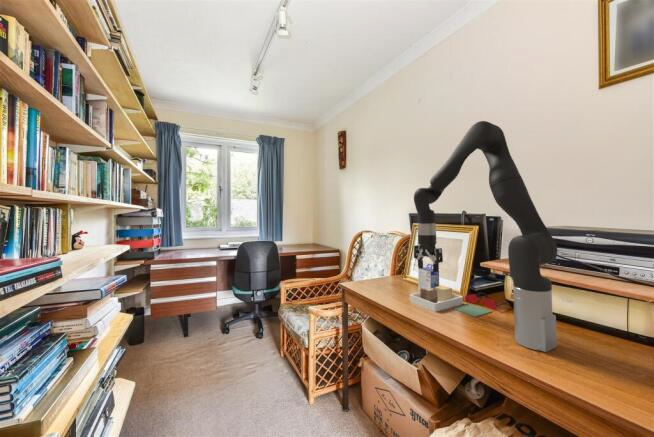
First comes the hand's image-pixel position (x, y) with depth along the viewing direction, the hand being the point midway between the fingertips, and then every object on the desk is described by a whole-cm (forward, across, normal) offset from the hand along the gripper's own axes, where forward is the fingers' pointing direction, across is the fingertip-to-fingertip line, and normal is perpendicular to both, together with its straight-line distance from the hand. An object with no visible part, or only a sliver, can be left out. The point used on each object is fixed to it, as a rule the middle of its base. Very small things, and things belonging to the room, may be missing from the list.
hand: (428, 270), depth 116 cm
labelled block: (+15, 0, 0) cm, 15 cm away
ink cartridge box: (+16, +12, -13) cm, 24 cm away
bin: (+15, 0, -4) cm, 16 cm away
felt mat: (+15, -14, -9) cm, 23 cm away
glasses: (+16, -12, -24) cm, 31 cm away
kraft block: (+15, 0, -9) cm, 18 cm away
